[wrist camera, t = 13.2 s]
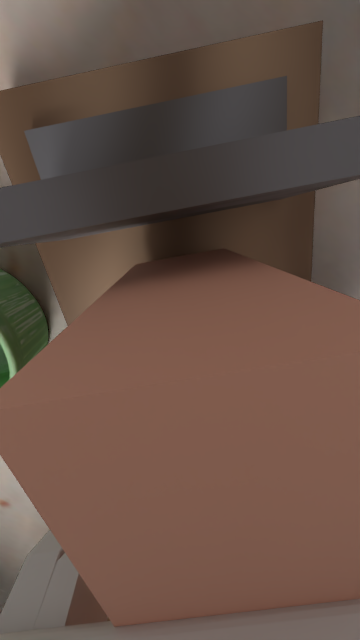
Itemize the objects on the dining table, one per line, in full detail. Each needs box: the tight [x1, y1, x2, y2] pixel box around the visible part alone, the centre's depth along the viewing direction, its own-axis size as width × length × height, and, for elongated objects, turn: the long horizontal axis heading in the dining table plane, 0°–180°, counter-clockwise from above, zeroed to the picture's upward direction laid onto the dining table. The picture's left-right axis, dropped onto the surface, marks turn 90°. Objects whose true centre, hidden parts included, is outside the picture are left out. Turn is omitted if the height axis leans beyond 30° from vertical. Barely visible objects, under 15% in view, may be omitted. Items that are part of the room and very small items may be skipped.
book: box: [0, 248, 360, 627], centre depth 8 cm, size 4×12×9 cm, turn 10°
